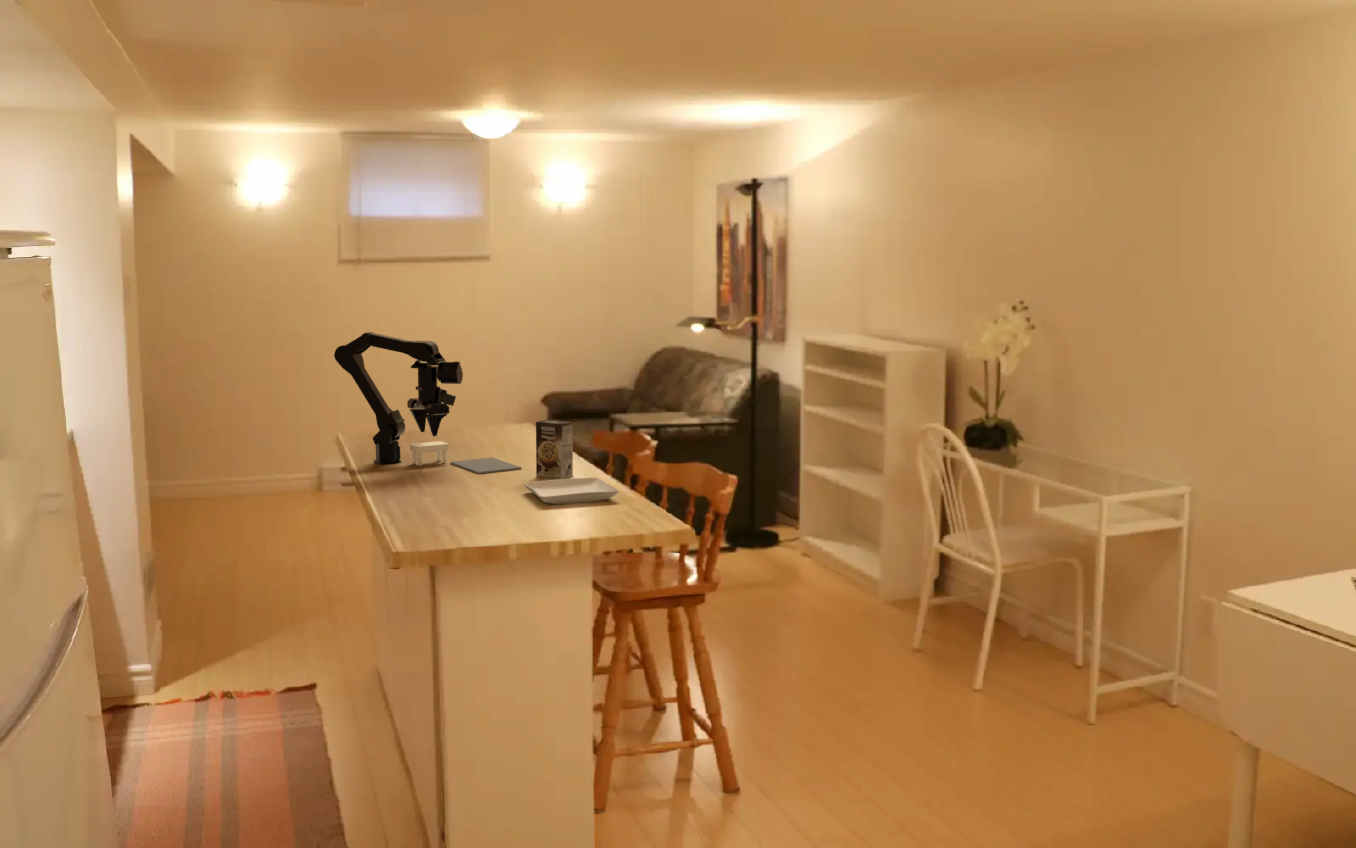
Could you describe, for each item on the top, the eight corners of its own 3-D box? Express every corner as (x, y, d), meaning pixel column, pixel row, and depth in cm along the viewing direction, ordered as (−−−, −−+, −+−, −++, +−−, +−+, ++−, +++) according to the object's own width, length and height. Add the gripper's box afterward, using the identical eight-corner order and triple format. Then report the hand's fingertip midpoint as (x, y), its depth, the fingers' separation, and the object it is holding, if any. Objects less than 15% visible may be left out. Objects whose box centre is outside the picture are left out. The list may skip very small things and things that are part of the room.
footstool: (418, 466, 360) (417, 446, 359) (410, 463, 365) (409, 444, 364) (449, 463, 366) (448, 443, 365) (441, 460, 371) (440, 441, 370)
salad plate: (522, 493, 325) (522, 480, 324) (597, 487, 332) (597, 475, 332) (541, 509, 305) (541, 496, 305) (620, 503, 313) (620, 490, 312)
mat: (478, 474, 349) (478, 472, 349) (450, 463, 365) (450, 461, 365) (521, 469, 357) (521, 467, 357) (492, 459, 373) (492, 457, 373)
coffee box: (535, 476, 345) (534, 421, 343) (547, 473, 351) (547, 418, 349) (561, 479, 341) (561, 424, 339) (573, 476, 347) (573, 421, 345)
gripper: (465, 384, 359) (465, 436, 361) (440, 378, 374) (440, 427, 376) (430, 387, 353) (431, 439, 355) (406, 380, 368) (407, 430, 370)
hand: (428, 434), depth 364 cm, fingers open, 9 cm apart
